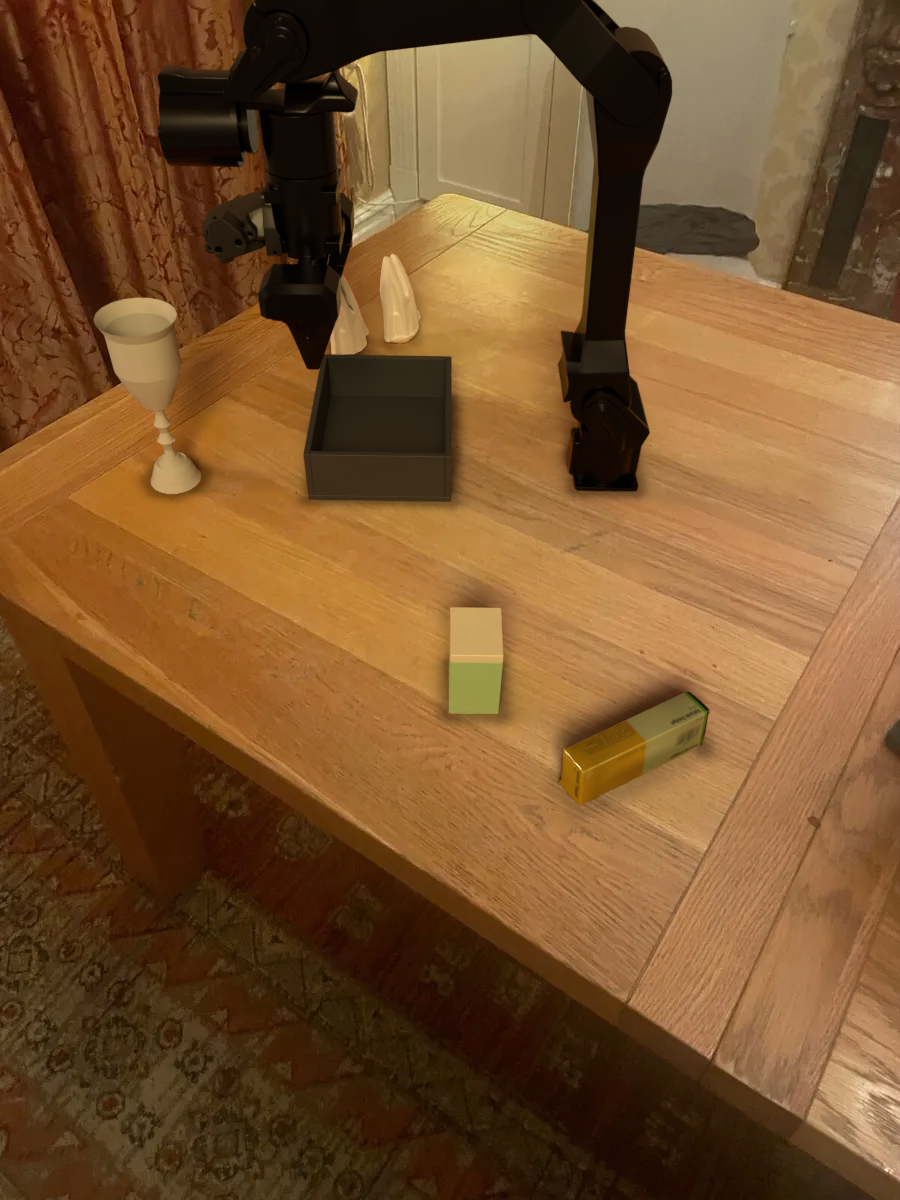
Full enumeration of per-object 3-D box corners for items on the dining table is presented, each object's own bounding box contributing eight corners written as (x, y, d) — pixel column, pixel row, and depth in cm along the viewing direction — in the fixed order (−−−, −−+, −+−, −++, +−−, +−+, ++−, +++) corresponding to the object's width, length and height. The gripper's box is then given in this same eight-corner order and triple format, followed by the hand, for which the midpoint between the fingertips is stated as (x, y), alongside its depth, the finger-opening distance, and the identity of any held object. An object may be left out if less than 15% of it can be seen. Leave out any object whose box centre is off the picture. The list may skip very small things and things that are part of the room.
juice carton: (496, 666, 76) (501, 607, 71) (498, 714, 73) (503, 656, 67) (448, 665, 76) (450, 606, 71) (448, 713, 73) (450, 655, 67)
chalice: (225, 469, 94) (193, 308, 81) (185, 507, 90) (144, 344, 77) (167, 450, 96) (126, 290, 83) (125, 487, 92) (76, 324, 79)
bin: (450, 399, 104) (451, 356, 100) (450, 501, 91) (451, 456, 87) (326, 397, 103) (322, 353, 99) (308, 499, 91) (303, 454, 87)
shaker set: (418, 328, 114) (418, 242, 106) (428, 345, 112) (428, 258, 104) (325, 342, 112) (317, 255, 104) (333, 359, 109) (325, 271, 101)
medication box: (681, 722, 72) (689, 687, 70) (704, 745, 71) (713, 710, 68) (557, 783, 68) (561, 747, 65) (578, 808, 66) (583, 773, 64)
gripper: (221, 123, 79) (247, 291, 90) (176, 213, 66) (212, 397, 77) (349, 126, 79) (359, 293, 90) (329, 216, 66) (343, 399, 77)
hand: (318, 341), depth 84 cm, fingers open, 9 cm apart
